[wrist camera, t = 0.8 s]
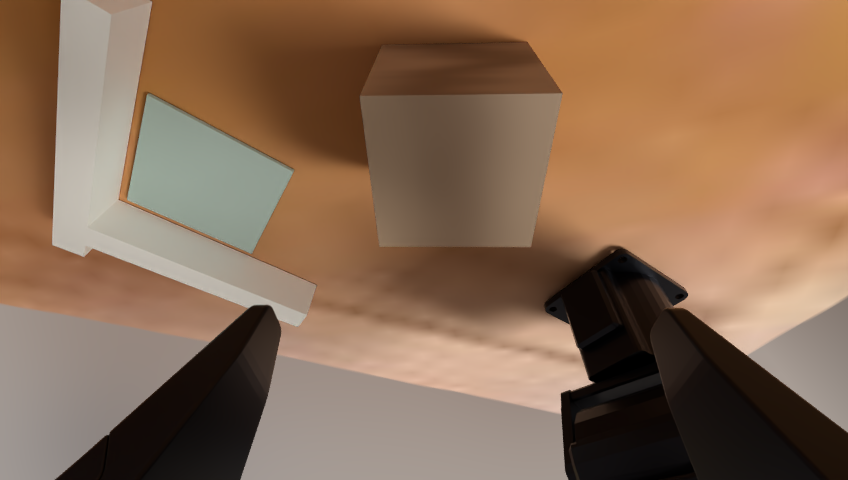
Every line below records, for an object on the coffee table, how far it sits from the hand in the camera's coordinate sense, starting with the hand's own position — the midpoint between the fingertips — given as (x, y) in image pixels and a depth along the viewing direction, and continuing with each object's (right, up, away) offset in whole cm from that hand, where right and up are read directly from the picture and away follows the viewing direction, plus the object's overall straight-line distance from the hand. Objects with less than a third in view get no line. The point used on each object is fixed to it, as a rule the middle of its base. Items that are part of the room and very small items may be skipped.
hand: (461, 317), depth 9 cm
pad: (-12, +5, +12) cm, 18 cm away
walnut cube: (0, +8, +9) cm, 12 cm away
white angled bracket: (-12, +5, +12) cm, 17 cm away
